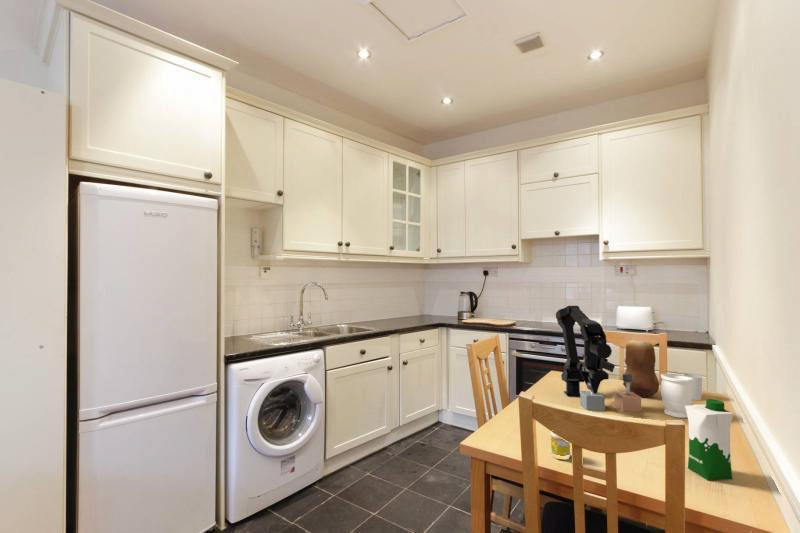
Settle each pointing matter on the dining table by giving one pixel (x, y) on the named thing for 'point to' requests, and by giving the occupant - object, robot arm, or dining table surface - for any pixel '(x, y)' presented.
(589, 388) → the slate pump
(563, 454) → the supplement bottle
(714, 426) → the milk carton
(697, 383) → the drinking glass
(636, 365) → the butternut squash
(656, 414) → the dining table surface
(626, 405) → the pink block with hole
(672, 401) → the jar
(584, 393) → the slate bottle
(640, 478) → the dining table surface
